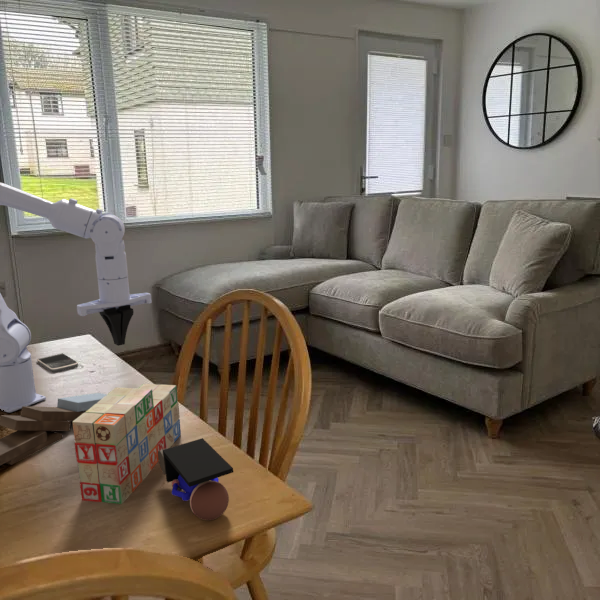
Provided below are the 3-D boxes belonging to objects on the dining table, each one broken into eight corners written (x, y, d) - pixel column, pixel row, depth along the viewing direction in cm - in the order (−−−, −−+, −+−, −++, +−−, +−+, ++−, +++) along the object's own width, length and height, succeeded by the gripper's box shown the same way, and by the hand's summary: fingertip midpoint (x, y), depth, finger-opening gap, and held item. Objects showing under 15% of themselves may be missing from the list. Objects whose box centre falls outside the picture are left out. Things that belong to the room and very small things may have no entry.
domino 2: (69, 430, 104) (14, 430, 96) (53, 425, 107) (-2, 424, 99) (71, 421, 104) (16, 420, 96) (54, 416, 107) (0, 415, 99)
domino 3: (63, 442, 102) (12, 469, 94) (43, 436, 105) (-9, 462, 96) (62, 433, 102) (10, 460, 94) (42, 428, 104) (-10, 453, 96)
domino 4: (85, 420, 109) (40, 420, 100) (66, 415, 111) (20, 415, 102) (87, 411, 109) (42, 411, 100) (68, 407, 111) (22, 406, 102)
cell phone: (53, 375, 134) (52, 369, 133) (36, 363, 142) (35, 358, 141) (80, 368, 138) (79, 362, 137) (62, 357, 146) (61, 352, 145)
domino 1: (47, 440, 100) (-6, 468, 91) (26, 435, 102) (-28, 461, 93) (46, 431, 99) (-8, 459, 91) (25, 426, 102) (-29, 452, 93)
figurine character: (157, 491, 88) (193, 534, 75) (151, 441, 87) (186, 476, 74) (200, 478, 91) (242, 517, 78) (195, 430, 90) (236, 461, 77)
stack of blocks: (147, 433, 104) (141, 366, 101) (181, 435, 103) (176, 367, 100) (81, 501, 83) (71, 420, 81) (122, 505, 82) (113, 423, 79)
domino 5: (116, 404, 116) (77, 411, 107) (97, 400, 118) (57, 407, 109) (117, 396, 116) (78, 402, 107) (98, 392, 118) (57, 398, 109)
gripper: (138, 269, 123) (143, 332, 127) (67, 279, 114) (75, 347, 117) (154, 273, 118) (159, 339, 121) (82, 285, 109) (90, 355, 112)
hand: (119, 343), depth 119 cm, fingers closed
